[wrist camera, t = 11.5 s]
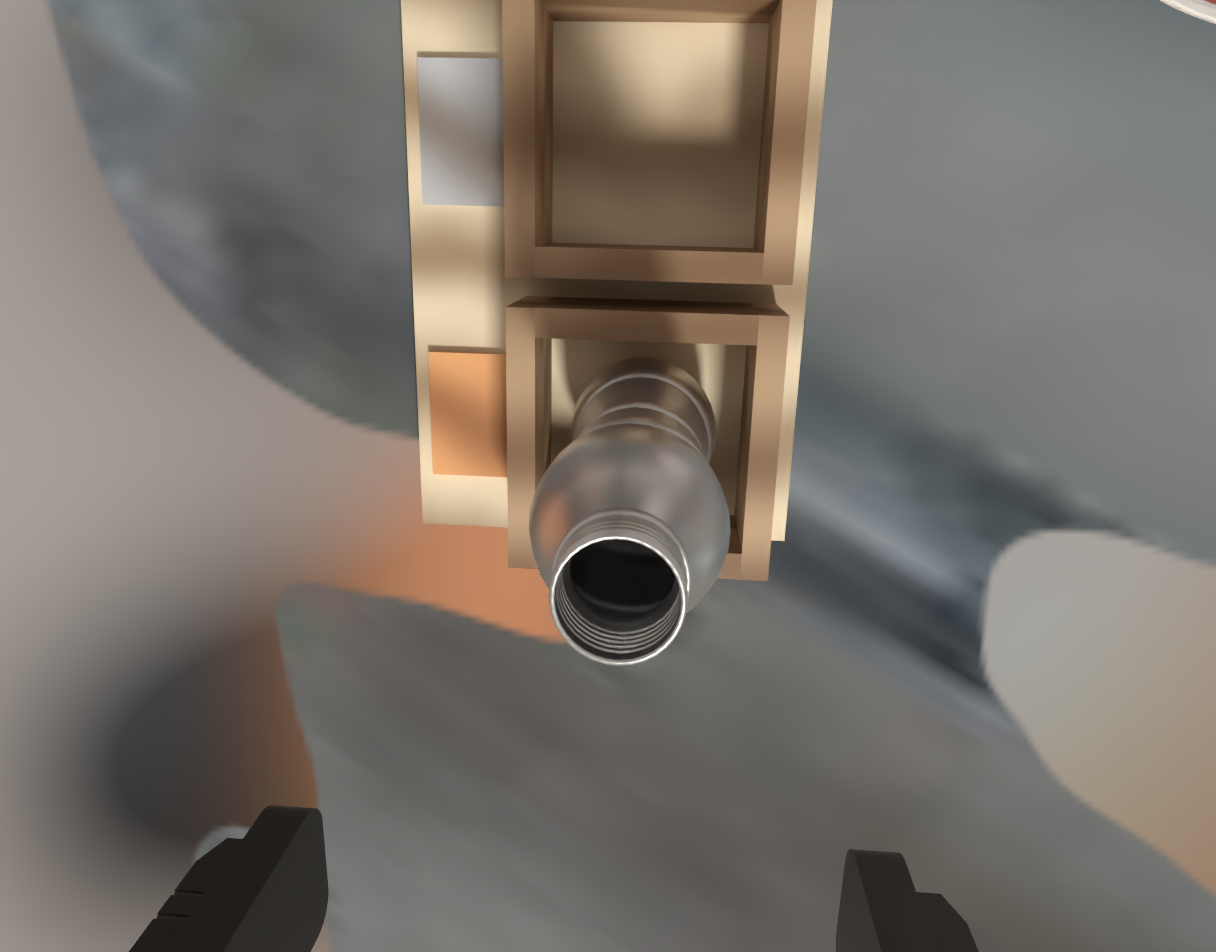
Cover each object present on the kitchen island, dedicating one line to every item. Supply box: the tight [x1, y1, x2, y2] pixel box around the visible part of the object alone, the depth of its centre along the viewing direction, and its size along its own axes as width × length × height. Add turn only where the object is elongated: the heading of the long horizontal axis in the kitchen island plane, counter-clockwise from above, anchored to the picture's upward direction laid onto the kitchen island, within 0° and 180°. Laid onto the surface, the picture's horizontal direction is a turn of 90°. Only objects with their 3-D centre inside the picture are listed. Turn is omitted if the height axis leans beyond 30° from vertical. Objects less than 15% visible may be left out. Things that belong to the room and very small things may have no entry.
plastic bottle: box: [529, 357, 731, 666], centre depth 31 cm, size 6×7×20 cm
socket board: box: [401, 0, 832, 581], centre depth 37 cm, size 24×18×6 cm
